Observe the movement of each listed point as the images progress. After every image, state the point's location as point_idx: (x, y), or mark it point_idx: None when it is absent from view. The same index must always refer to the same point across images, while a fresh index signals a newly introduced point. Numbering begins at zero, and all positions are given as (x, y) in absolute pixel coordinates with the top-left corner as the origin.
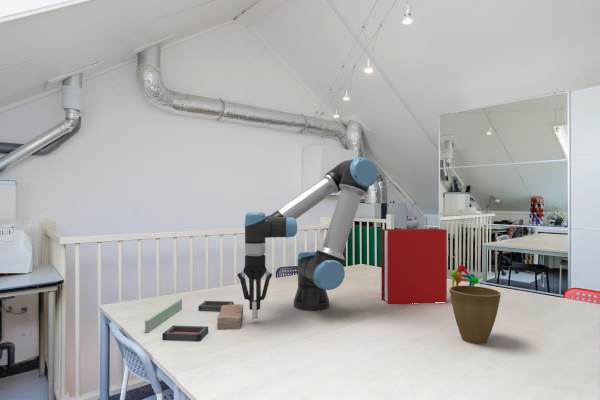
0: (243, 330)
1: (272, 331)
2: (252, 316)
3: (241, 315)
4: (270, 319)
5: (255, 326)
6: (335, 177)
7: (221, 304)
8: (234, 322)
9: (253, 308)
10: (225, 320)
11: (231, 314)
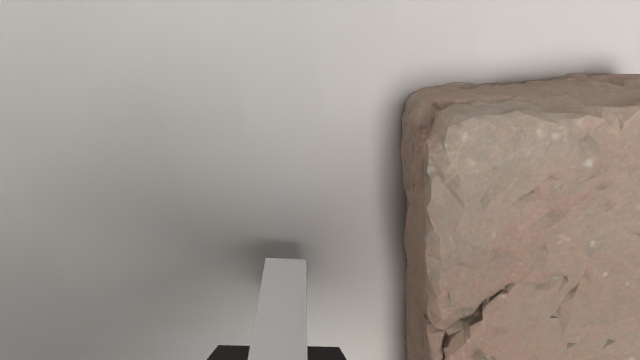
0: (361, 47)
1: (42, 18)
2: (302, 278)
3: (425, 242)
4: (168, 336)
5: (261, 167)
6: None
7: None
8: (487, 97)
9: (288, 347)
10: (612, 94)
11: (552, 240)
